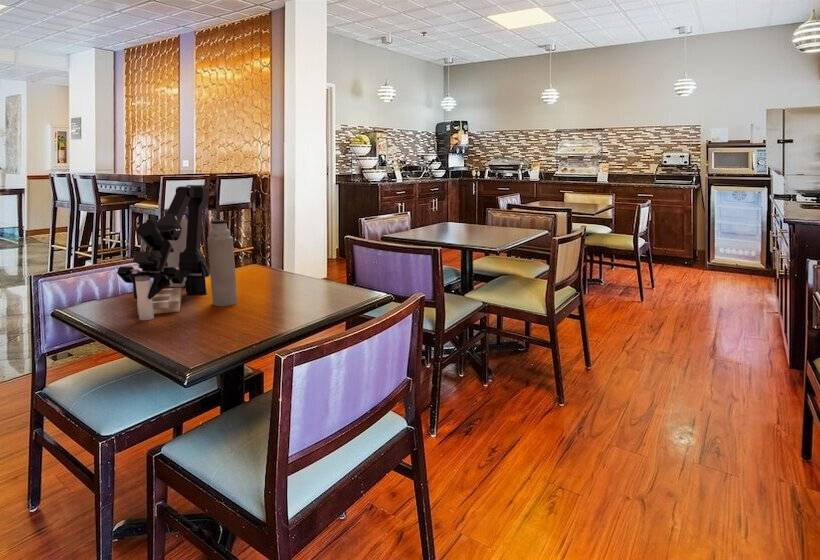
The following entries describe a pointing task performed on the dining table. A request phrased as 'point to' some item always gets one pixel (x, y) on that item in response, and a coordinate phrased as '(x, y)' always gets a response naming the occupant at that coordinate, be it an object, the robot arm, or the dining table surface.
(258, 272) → the dining table surface
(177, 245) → the cylinder vase
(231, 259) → the thermos bottle
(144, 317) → the plug
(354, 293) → the dining table surface
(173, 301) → the socket board
